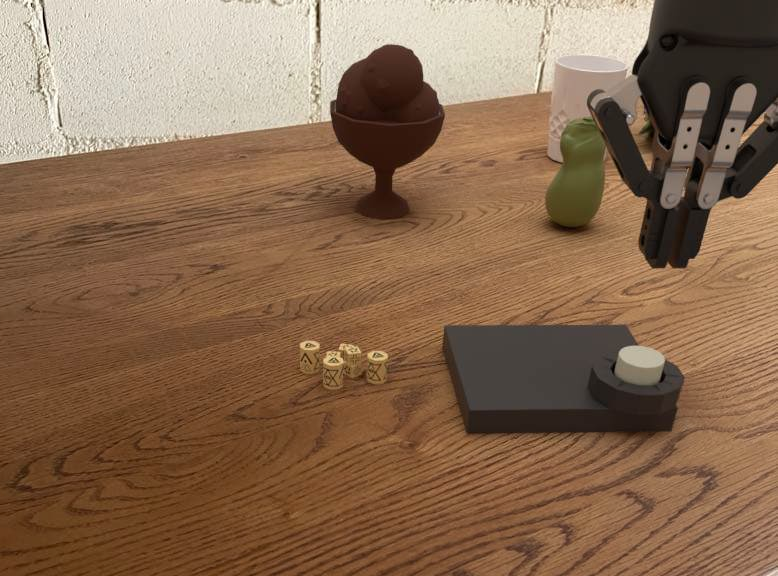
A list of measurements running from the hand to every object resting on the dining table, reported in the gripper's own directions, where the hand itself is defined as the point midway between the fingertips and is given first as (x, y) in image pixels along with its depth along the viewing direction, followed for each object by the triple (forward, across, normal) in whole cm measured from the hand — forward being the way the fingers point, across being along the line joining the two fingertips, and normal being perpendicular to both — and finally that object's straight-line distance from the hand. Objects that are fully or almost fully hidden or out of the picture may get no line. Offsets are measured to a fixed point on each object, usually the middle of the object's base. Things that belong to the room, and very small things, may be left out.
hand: (664, 263), depth 57 cm
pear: (+11, +4, +35) cm, 37 cm away
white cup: (+11, +10, +56) cm, 58 cm away
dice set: (+11, -20, +6) cm, 23 cm away
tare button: (+8, 0, 0) cm, 8 cm away
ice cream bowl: (+11, -14, +39) cm, 43 cm away
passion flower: (+11, +24, +60) cm, 66 cm away
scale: (+11, -4, +4) cm, 13 cm away
